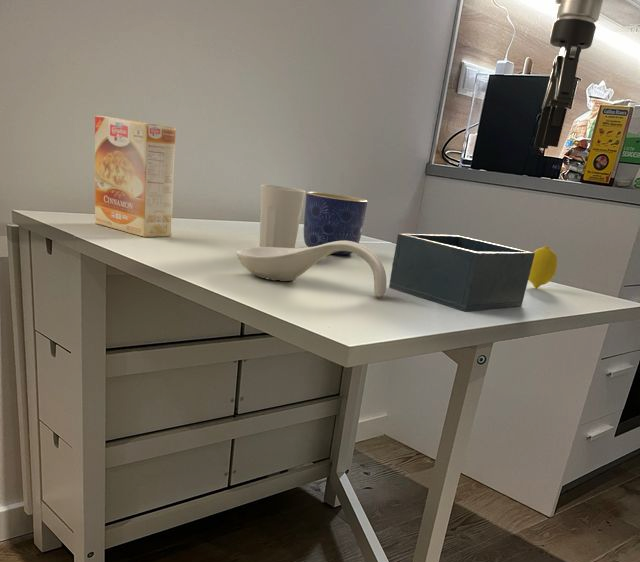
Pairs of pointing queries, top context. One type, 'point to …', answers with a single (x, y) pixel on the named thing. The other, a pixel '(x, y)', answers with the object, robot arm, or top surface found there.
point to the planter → (333, 219)
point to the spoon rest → (306, 261)
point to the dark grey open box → (460, 271)
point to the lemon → (543, 266)
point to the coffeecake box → (134, 176)
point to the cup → (280, 215)
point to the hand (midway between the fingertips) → (544, 147)
